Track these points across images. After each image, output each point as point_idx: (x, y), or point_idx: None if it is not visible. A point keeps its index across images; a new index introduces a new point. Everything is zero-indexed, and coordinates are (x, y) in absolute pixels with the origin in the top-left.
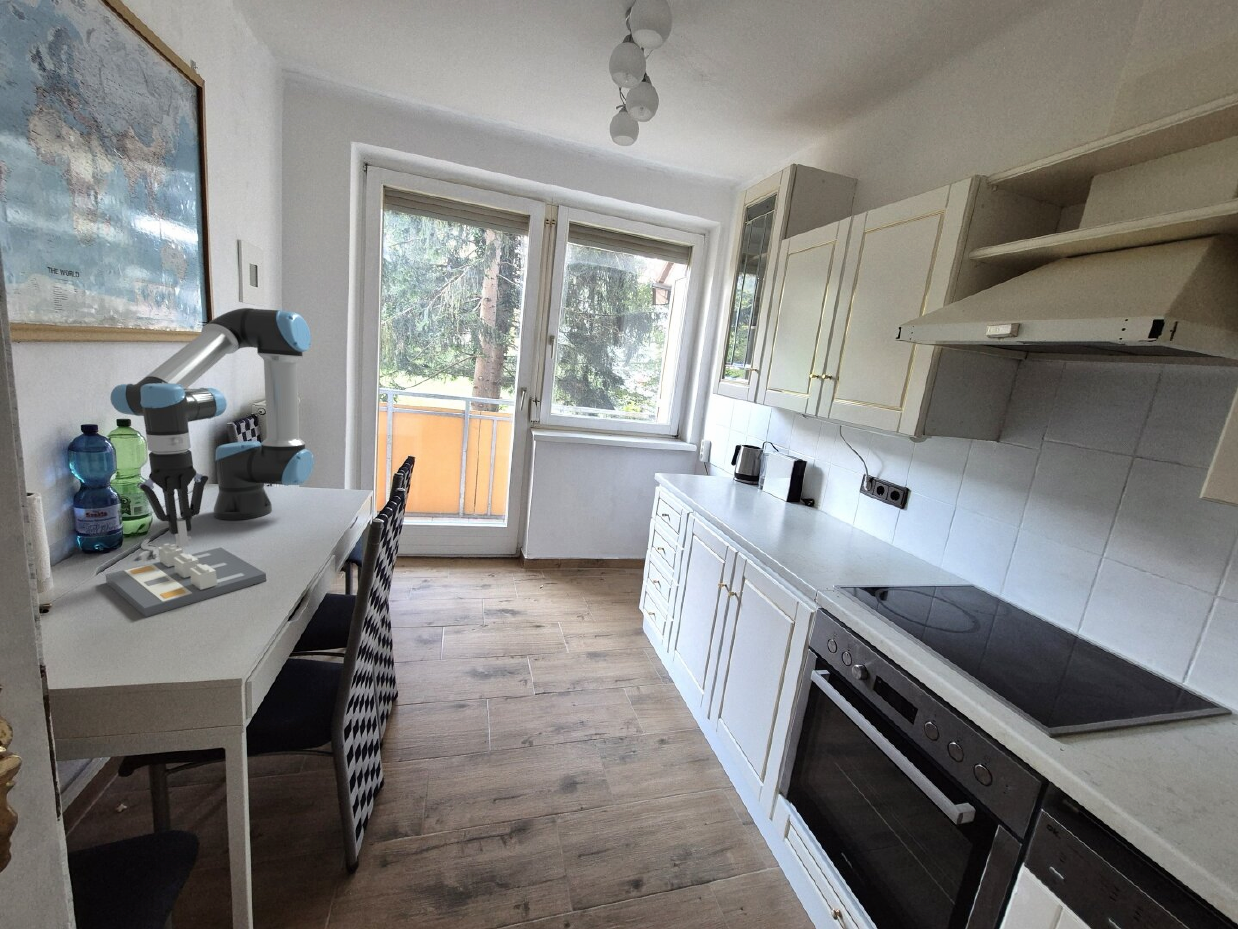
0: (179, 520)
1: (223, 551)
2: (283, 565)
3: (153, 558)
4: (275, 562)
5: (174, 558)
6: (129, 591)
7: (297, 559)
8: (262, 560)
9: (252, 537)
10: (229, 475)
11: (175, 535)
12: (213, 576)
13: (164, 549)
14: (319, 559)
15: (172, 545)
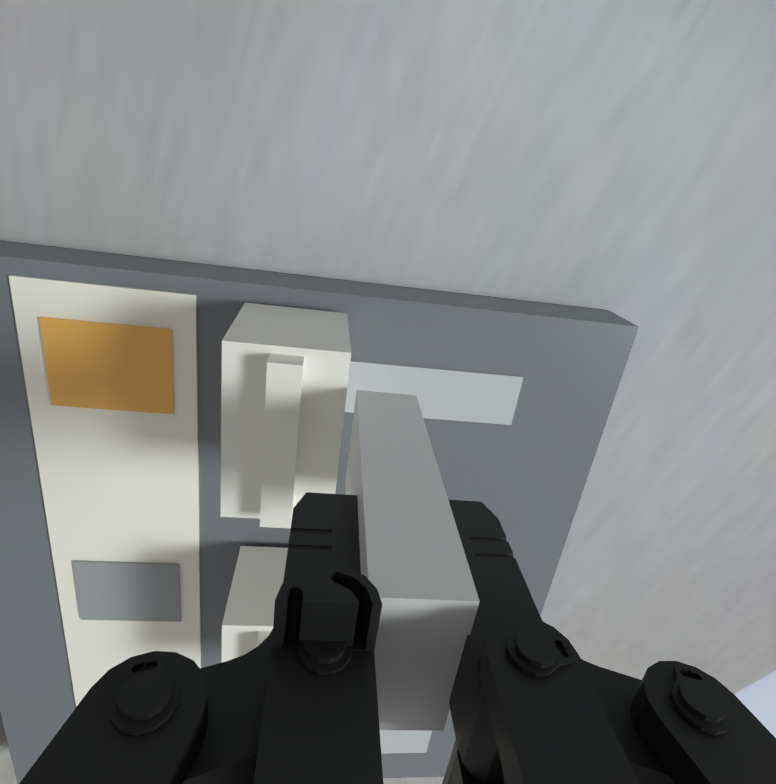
0: (395, 695)
1: (591, 413)
2: (624, 655)
3: None
4: (638, 608)
5: (222, 636)
6: None
7: (703, 639)
8: (633, 551)
9: None
10: None
11: (358, 445)
12: None
13: (241, 428)
14: (733, 690)
15: (328, 375)
